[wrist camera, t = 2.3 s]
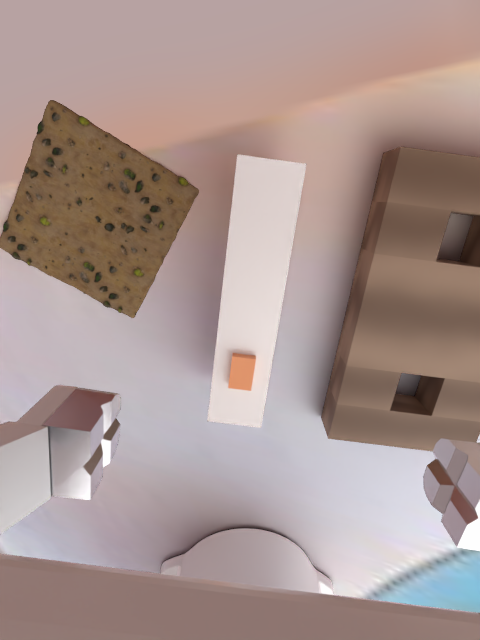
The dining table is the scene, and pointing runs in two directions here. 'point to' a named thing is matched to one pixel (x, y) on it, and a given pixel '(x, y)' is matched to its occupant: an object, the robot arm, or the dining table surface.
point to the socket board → (412, 311)
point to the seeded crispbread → (94, 211)
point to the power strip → (253, 286)
